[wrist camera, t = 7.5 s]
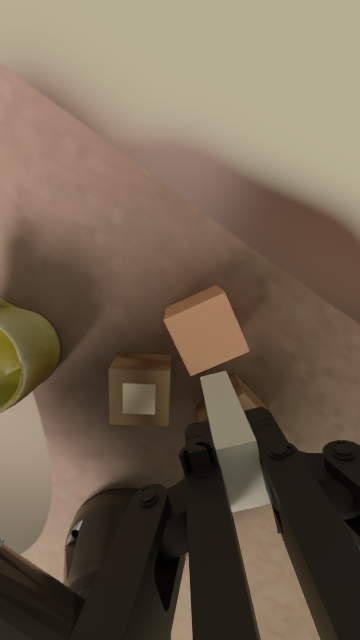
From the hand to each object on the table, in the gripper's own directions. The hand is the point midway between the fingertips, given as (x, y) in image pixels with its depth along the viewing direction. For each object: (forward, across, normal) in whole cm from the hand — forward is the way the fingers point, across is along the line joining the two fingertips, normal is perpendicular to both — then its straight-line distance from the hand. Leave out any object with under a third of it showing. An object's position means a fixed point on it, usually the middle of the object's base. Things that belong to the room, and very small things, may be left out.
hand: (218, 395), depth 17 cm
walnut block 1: (+17, -7, -4) cm, 19 cm away
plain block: (+17, +1, 0) cm, 17 cm away
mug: (+17, -19, +4) cm, 26 cm away
